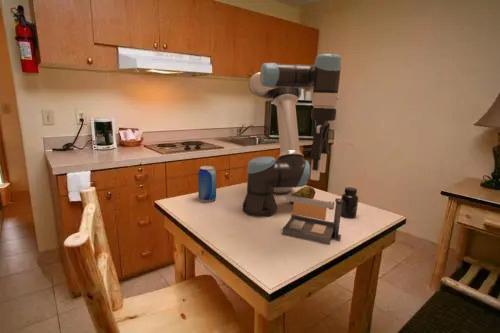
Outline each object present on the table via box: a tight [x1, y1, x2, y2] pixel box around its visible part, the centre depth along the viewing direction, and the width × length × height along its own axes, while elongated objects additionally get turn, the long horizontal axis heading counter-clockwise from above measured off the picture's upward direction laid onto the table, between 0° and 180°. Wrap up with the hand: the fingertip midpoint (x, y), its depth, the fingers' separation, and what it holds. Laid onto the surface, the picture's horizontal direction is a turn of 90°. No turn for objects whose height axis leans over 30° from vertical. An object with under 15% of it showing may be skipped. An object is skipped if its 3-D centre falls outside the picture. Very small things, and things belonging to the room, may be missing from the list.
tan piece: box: [285, 194, 335, 221], centre depth 104 cm, size 18×2×7 cm, turn 66°
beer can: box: [197, 165, 217, 203], centre depth 134 cm, size 8×8×16 cm
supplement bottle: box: [340, 186, 359, 219], centre depth 121 cm, size 7×7×12 cm
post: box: [331, 198, 343, 242], centre depth 100 cm, size 4×4×15 cm
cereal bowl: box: [274, 187, 294, 194], centre depth 152 cm, size 17×17×7 cm
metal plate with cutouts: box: [281, 213, 334, 246], centre depth 106 cm, size 17×12×3 cm
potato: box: [288, 185, 316, 204], centre depth 135 cm, size 8×13×8 cm, turn 83°
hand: (318, 175), depth 94 cm, fingers open, 10 cm apart
